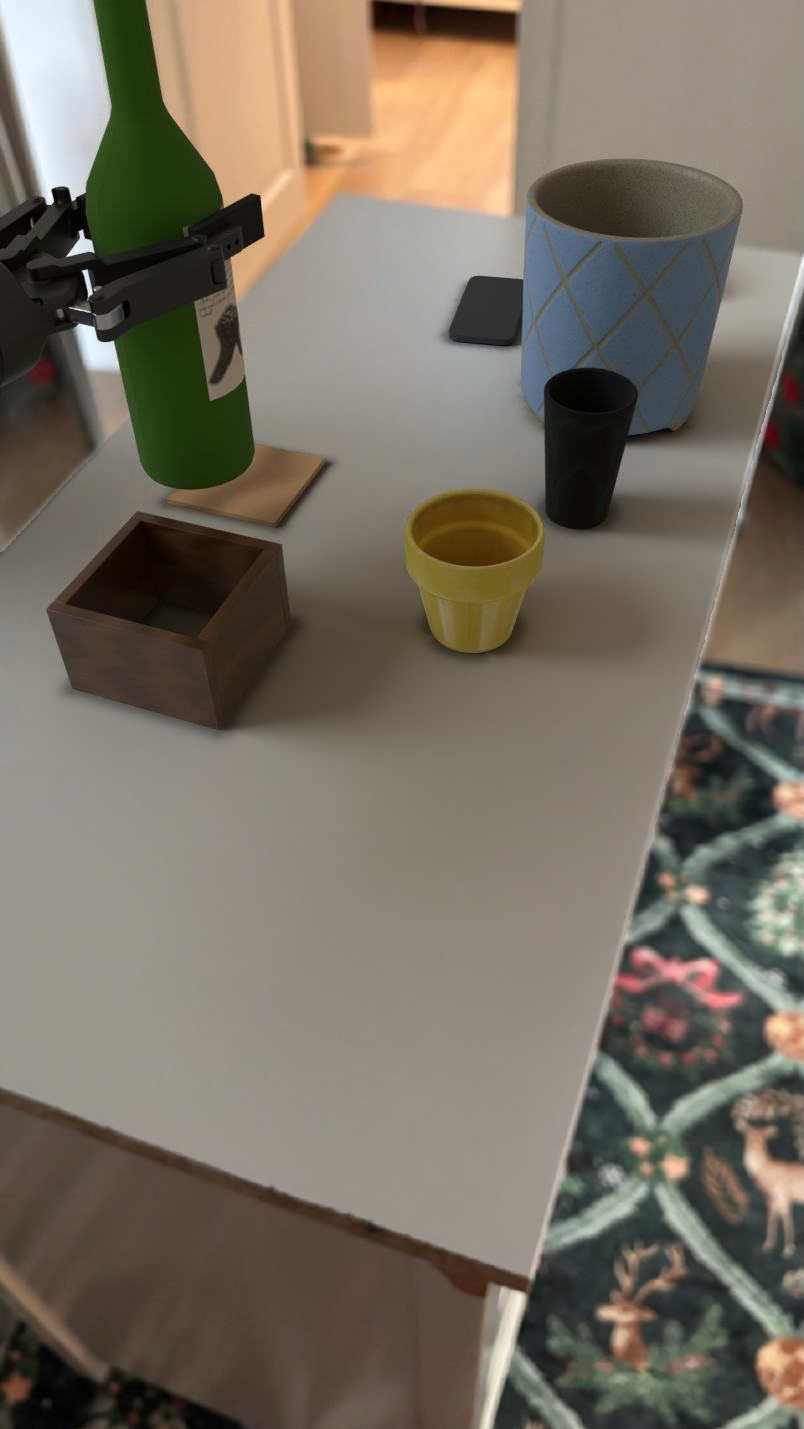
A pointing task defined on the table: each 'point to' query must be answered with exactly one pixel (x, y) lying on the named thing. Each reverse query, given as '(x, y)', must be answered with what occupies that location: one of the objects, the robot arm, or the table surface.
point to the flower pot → (473, 564)
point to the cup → (584, 443)
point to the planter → (626, 279)
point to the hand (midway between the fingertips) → (202, 201)
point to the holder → (162, 663)
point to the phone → (489, 311)
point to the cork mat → (257, 488)
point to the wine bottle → (149, 210)
